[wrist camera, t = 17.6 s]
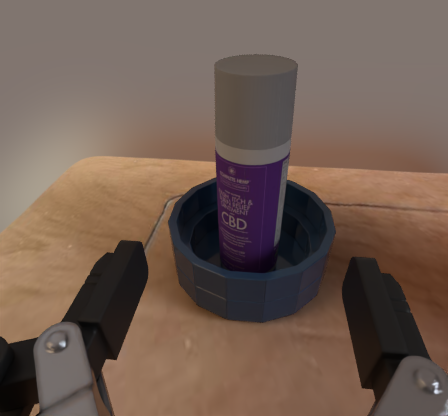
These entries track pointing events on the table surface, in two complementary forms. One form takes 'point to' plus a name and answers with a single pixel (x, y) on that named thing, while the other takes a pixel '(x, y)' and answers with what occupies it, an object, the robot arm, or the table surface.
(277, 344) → the table surface
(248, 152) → the container
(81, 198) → the table surface
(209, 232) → the bowl
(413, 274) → the table surface
